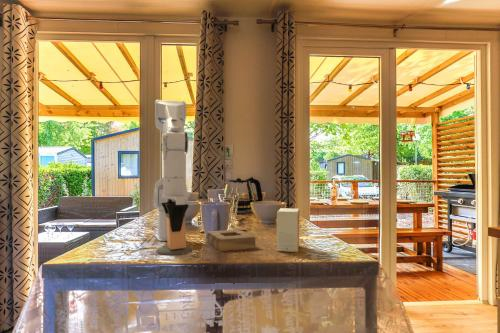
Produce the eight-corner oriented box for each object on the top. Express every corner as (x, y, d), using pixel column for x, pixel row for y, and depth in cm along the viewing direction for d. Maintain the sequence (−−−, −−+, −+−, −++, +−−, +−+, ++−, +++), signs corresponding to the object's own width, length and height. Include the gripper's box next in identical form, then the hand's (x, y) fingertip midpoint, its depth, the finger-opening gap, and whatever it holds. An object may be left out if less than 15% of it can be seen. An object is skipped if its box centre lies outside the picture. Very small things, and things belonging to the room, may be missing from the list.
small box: (297, 252, 86) (298, 211, 86) (276, 251, 87) (276, 211, 87) (299, 245, 94) (299, 208, 94) (279, 244, 95) (279, 207, 95)
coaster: (153, 248, 89) (153, 247, 89) (187, 245, 93) (187, 244, 93) (159, 256, 81) (159, 254, 81) (195, 253, 85) (195, 251, 85)
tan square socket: (207, 241, 98) (207, 231, 98) (238, 239, 102) (239, 229, 102) (220, 251, 87) (220, 239, 87) (255, 247, 91) (255, 236, 91)
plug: (167, 246, 88) (165, 213, 88) (183, 244, 90) (181, 211, 90) (170, 249, 85) (168, 215, 85) (186, 247, 86) (184, 213, 86)
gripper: (197, 178, 82) (196, 233, 82) (183, 177, 96) (183, 224, 95) (167, 178, 79) (167, 235, 79) (158, 177, 93) (158, 226, 93)
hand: (174, 230), depth 87 cm, fingers closed on plug, 4 cm apart
